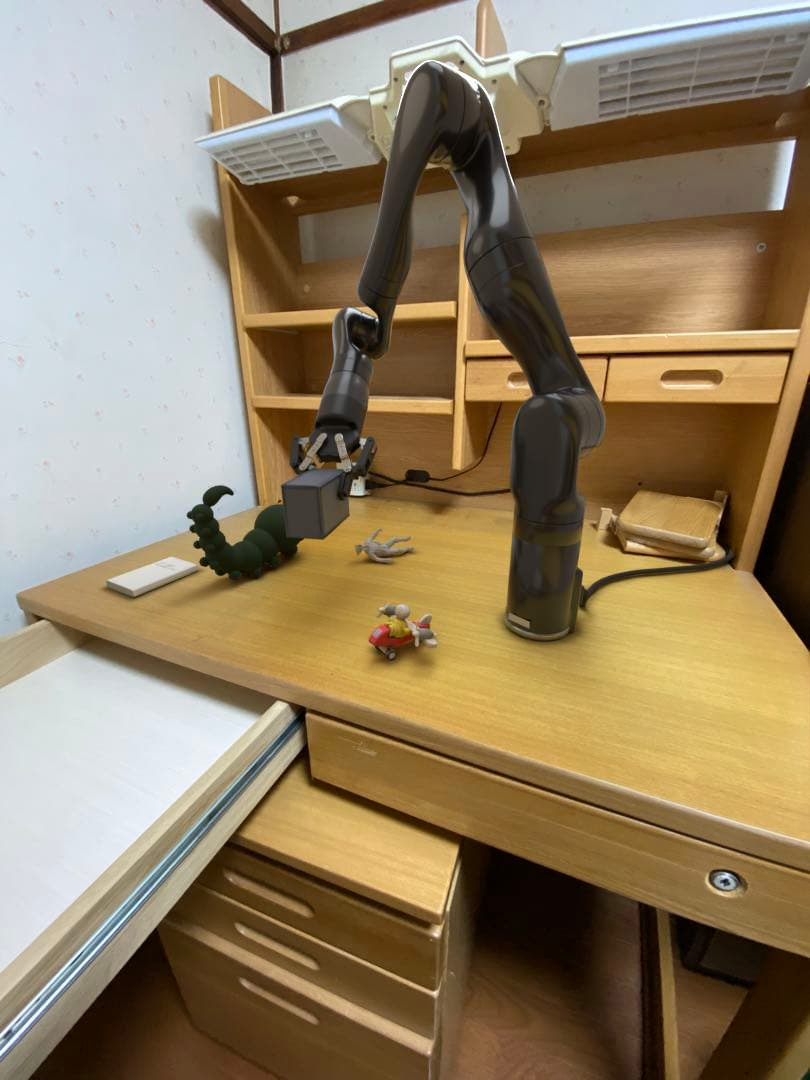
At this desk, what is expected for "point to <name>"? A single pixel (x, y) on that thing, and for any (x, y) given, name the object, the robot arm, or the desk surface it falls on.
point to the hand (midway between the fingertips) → (321, 496)
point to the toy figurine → (243, 554)
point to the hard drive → (151, 576)
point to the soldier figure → (382, 547)
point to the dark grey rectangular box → (313, 504)
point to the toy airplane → (401, 630)
